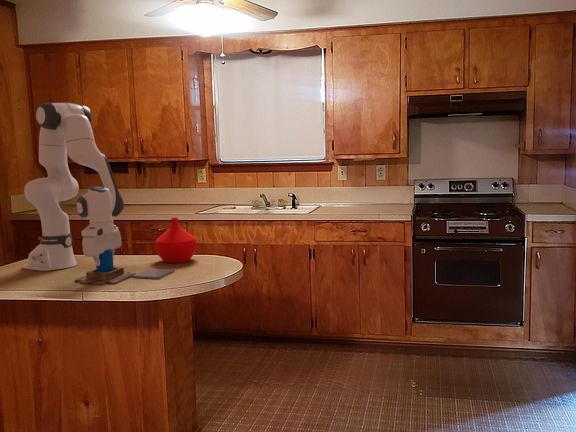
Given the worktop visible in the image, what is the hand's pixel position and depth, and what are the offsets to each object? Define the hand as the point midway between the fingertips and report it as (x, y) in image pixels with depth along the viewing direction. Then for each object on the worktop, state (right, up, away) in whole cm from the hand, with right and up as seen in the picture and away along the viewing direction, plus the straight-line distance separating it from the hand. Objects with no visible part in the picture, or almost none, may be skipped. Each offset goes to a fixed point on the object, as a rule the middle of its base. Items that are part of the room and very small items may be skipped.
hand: (104, 263), depth 221 cm
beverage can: (0, -6, +1) cm, 6 cm away
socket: (0, -6, +1) cm, 6 cm away
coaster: (+18, -5, +5) cm, 19 cm away
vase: (+23, -2, +29) cm, 37 cm away
